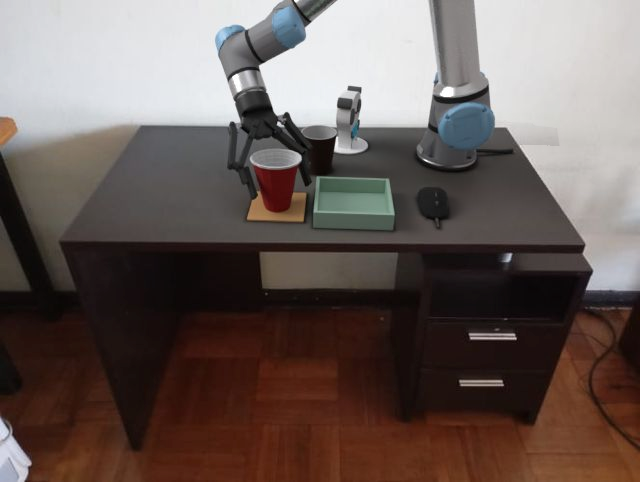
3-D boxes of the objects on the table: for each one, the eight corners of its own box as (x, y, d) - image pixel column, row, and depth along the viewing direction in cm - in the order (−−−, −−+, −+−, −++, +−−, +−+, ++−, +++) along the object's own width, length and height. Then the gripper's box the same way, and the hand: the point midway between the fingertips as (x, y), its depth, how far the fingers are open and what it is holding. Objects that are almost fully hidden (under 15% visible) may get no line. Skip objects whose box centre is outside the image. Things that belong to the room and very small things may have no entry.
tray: (387, 192, 117) (389, 178, 115) (392, 230, 105) (394, 215, 102) (316, 190, 118) (316, 176, 115) (313, 227, 105) (313, 212, 103)
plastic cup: (306, 195, 115) (306, 147, 108) (296, 221, 106) (295, 170, 99) (260, 190, 116) (257, 142, 109) (246, 215, 108) (242, 164, 101)
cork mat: (306, 194, 116) (306, 192, 116) (303, 222, 106) (303, 221, 106) (254, 192, 116) (254, 191, 116) (246, 220, 107) (246, 219, 106)
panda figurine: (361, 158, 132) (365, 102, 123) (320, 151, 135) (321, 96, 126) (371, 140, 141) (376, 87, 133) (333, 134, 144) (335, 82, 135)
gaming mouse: (423, 227, 106) (425, 211, 103) (415, 192, 118) (418, 177, 115) (453, 228, 105) (456, 212, 103) (442, 193, 118) (445, 178, 115)
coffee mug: (332, 179, 122) (333, 141, 116) (297, 175, 124) (297, 137, 118) (340, 158, 132) (341, 122, 126) (308, 155, 133) (308, 119, 127)
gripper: (296, 97, 117) (326, 184, 115) (194, 114, 107) (225, 209, 105) (306, 81, 110) (338, 173, 108) (198, 97, 100) (231, 198, 98)
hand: (282, 191), depth 106 cm, fingers open, 12 cm apart
